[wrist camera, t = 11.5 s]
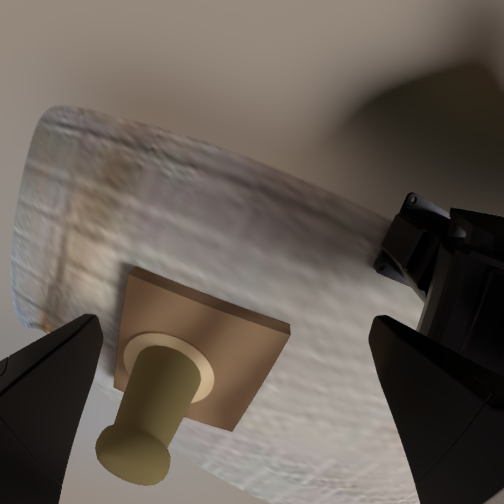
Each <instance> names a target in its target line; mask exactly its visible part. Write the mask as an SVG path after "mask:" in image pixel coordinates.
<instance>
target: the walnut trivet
mask: <svg viewBox="0 0 504 504" xmlns="http://www.w3.org/2000/svg"><path fill="white" fill-rule="evenodd" d="M290 335H291V334H290V324H287V323H284V322H281V321H278V320H275V319H273V318H270V317H267V316H264V315H261V314H258V313H255V312H253V311H250V310H247V309H244V308H241V307H239V306H236V305H233V304H230V303H228V302H225V301H222V300H220V299H217V298H214V297H212V296H209V295H206V294H204V293H201V292H199V291H196V290H194V289H191V288H188V287H186V286H183V285H181V284H178V283H176V282H173V281H171V280H168V279H166V278H163V277H161V276H158V275H156V274H154V273H151V272H149V271H146V270H144V269H142V268H139V267H137V266H136V267H135V268H134V269H133V270H132V271H131V272H130V273H129V275H128V280H127V286H126V292H125V297H124V303H123V310H122V316H121V323H120V330H119V338H118V346H117V355H116V364H115V375H114V388H116V389H118V390H120V391H122V392H125V389H126V386H127V383H128V380H129V377H130V375H131V372H132V369H133V366H134V363H135V361H136V358H137V356H138V354H139V353H140V351H141V350H143V349H145V348H146V347H150V346H155V345H158V346H167V347H170V348H173V349H176V350H178V351H180V352H182V353H183V354H185V355H187V356H188V357H189V358H190V359H191V360H192V361H193V362H194V363H195V364H196V366H197V367H198V369H199V371H200V374H201V383H200V386H199V388H198V390H197V392H196V394H195V396H194V398H193V400H192V402H191V404H190V406H189V408H188V410H187V411H186V413H185V415H184V417H187V418H189V419H192V420H195V421H198V422H201V423H205V424H208V425H211V426H214V427H217V428H221V429H224V430H228V431H231V432H232V431H233V430H234V428H235V427H236V425H237V424H238V422H239V420H240V419H241V417H242V416H243V414H244V413H245V411H246V409H247V408H248V406H249V405H250V403H251V402H252V400H253V398H254V397H255V395H256V393H257V392H258V390H259V389H260V387H261V385H262V384H263V382H264V380H265V379H266V377H267V375H268V374H269V372H270V370H271V369H272V367H273V365H274V363H275V362H276V360H277V358H278V357H279V355H280V353H281V351H282V350H283V348H284V346H285V344H286V343H287V341H288V339H289V337H290Z"/></svg>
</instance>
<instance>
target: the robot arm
mask: <svg viewBox="0 0 504 504" xmlns="http://www.w3.org/2000/svg"><path fill="white" fill-rule="evenodd" d="M412 197H414V198H415V200H414V202H411V198H412ZM381 264H383V267H382V268H380V269H379V268H378V267H379V265H381ZM374 269H375V271H376V272H377V273H379V274H381V275H384V276H386V277H388V278H391V279H393V280H395V281H398V282H400V283H402V284H405V285H407V286H409V287H411V288H412V289H413V290H414V291H415V293H416V294H417V295H418V296H419V297H420V299H421V300H422V301H423V302H424V303H425V304H424V308H423V311H422V314H421V317H420V320H419V323H418V326H417V329H416V331H415V330H414V329H412V328H410V327H408V326H406V325H404V324H402V323H401V322H399V321H397V320H395V319H393V318H391V317H389V316H387V315H379V316H376V317H375V318H374V319H373V323H372V326H371V330H370V333H369V345H370V349H371V352H372V356H373V360H374V363H375V367H376V371H377V375H378V378H379V381H380V384H381V386H382V389H383V392H384V394H385V397H386V400H387V402H388V405H389V408H390V410H391V413H392V416H393V419H394V422H395V424H396V427H397V430H398V433H399V436H400V439H401V442H402V445H403V448H404V451H405V454H406V457H407V460H408V463H409V466H410V469H411V473H412V476H413V479H414V483H415V487H416V490H417V493H418V497H419V500H420V504H504V217H502V216H498V215H493V214H487V213H482V212H476V211H470V210H465V209H459V208H452V207H451V209H450V214H449V213H448V212H446V211H444V210H443V209H441V208H440V207H438V206H436V205H435V204H433V203H431V202H430V201H428V200H426V199H425V198H423V197H421V196H420V195H418V194H416V193H413V192H411V193H409V194H408V195H407V196H406V199H405V201H404V203H403V205H402V208H401V210H400V212H399V214H397V215H396V216H395V218H394V220H393V222H392V224H391V226H390V228H389V231H388V233H387V235H386V237H385V239H384V241H383V243H382V250H381V252H380V254H379V256H378V257H377V259H376V261H375V263H374ZM102 344H103V333H102V330H101V326H100V323H99V319H98V317H97V316H96V315H94V314H84V315H82V316H80V317H78V318H77V319H75V320H73V321H71V322H69V323H67V324H66V325H64V326H62V327H60V328H58V329H56V330H55V331H53V332H51V333H49V334H47V335H46V336H44V337H42V338H40V339H39V340H37V341H35V342H33V343H31V344H30V345H28V346H26V347H24V348H22V349H21V350H19V351H17V352H16V353H14V354H12V355H10V356H9V357H6V358H5V359H3V360H1V361H0V504H59V499H60V494H61V489H62V484H63V479H64V476H65V471H66V467H67V464H68V459H69V456H70V452H71V449H72V445H73V441H74V438H75V435H76V431H77V428H78V425H79V421H80V418H81V415H82V412H83V409H84V405H85V403H86V400H87V397H88V394H89V391H90V388H91V385H92V382H93V379H94V375H95V372H96V367H97V363H98V359H99V355H100V351H101V348H102Z"/></svg>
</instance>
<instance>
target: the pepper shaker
mask: <svg viewBox="0 0 504 504" xmlns="http://www.w3.org/2000/svg"><path fill="white" fill-rule="evenodd" d="M200 383H201V374H200V371H199V369H198V367H197V366H196V364H195V363H194V362H193V361H192V360H191V359H190V358H189V357H188V356H187V355H185V354H183V353H182V352H180V351H178V350H176V349H173V348H170V347H167V346H158V345H155V346H150V347H146V348H145V349H143V350H141V351H140V353H139V354H138V356H137V358H136V361H135V363H134V366H133V369H132V372H131V375H130V377H129V380H128V383H127V386H126V389H125V392H124V395H123V398H122V401H121V404H120V407H119V410H118V413H117V416H116V419H115V423H114V424H113V425H111V426H108V427H106V428H105V429H104V430H103V431H102V433H101V434H100V436H99V438H98V439H97V442H96V447H95V449H96V454H97V459H98V460H99V462H100V463H101V464H102V465H103V467H104V468H106V469H107V470H108V471H109V472H111V473H112V474H114V475H115V476H117V477H119V478H121V479H123V480H125V481H128V482H130V483H134V484H138V485H144V486H147V485H155V484H157V483H159V482H160V481H162V480H163V479H164V478H165V477H166V475H167V473H168V470H169V467H170V454H169V452H168V449H167V448H168V446H169V444H170V442H171V440H172V438H173V437H174V435H175V433H176V431H177V429H178V427H179V425H180V423H181V421H182V419H183V417H184V415H185V413H186V411H187V410H188V408H189V406H190V404H191V402H192V400H193V398H194V396H195V394H196V392H197V390H198V388H199V386H200Z"/></svg>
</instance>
